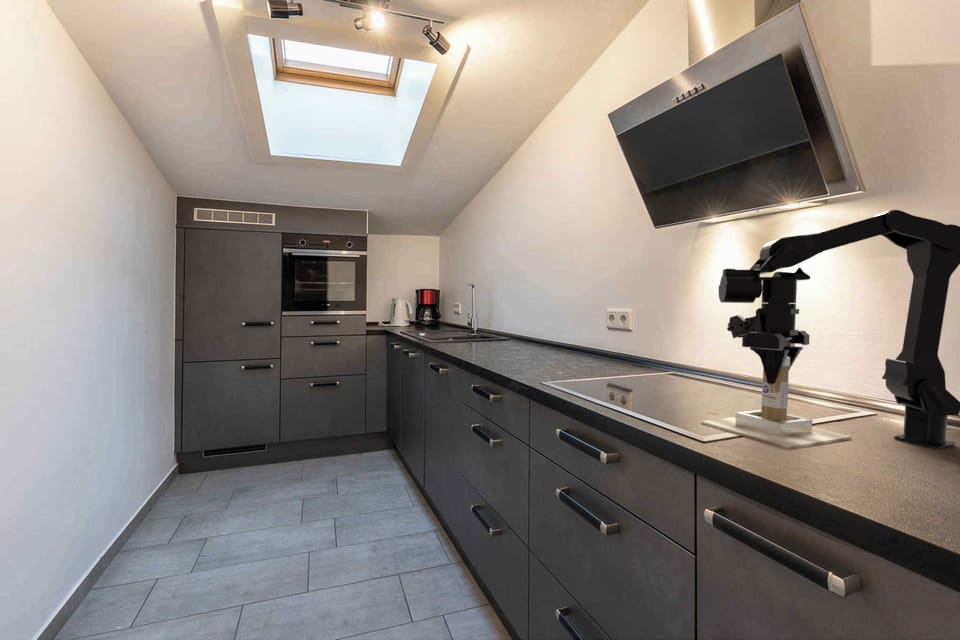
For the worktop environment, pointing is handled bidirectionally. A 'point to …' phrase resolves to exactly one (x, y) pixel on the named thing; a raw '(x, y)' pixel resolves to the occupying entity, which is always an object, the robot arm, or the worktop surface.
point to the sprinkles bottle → (776, 395)
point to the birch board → (784, 442)
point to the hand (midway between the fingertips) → (775, 382)
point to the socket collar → (774, 424)
